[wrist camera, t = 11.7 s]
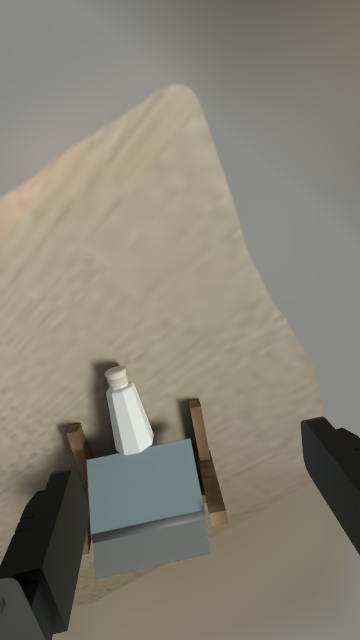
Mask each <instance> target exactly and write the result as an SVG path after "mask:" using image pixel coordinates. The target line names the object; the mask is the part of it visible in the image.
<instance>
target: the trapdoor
mask: <svg viewBox="0 0 360 640" xmlns="http://www.w3.org/2000/svg"><path fill="white" fill-rule="evenodd" d="M87 475H88V493H89V510H90V528H91V539H92V541H93V550H94V567H95V579H99V578H103V577H108V576H112V575H117V574H121V573H126V572H130V571H135V570H139V569H144V568H148V567H153V566H158V565H162V564H167V563H171V562H176V561H180V560H185V559H189V558H194V557H198V556H203V555H207V554H211V550H210V544H209V539H208V534H207V528H206V523H205V518H204V515H205V511H204V506H203V501H202V496H201V490H200V485H199V480H198V475H197V470H196V465H195V460H194V455H193V449H192V444H191V439H185V440H180V441H175V442H171V443H166V444H161V445H156V446H151V447H147V448H146V449H145V450H143V451H142V452H140V453H136V454H130V455H124V454H122V453H118V454H113V455H108V456H103V457H98V458H94V459H89V460H87Z"/></svg>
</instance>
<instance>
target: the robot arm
mask: <svg viewBox="0 0 360 640" xmlns="http://www.w3.org/2000/svg"><path fill="white" fill-rule="evenodd" d="M301 434H302V446H303V458H304V462H305V466H306V468H307V471H308V473H309V475H310V477H311V478H312V480H313V482H314V483H315V485H316V486H317V488H318V489H319V491H320V493H321V494H322V496H323V497H324V499H325V501H326V502H327V504H328V505H329V507H330V509H331V510H332V512H333V513H334V515H335V516H336V518H337V520H338V521H339V523H340V525H341V526H342V528H343V529H344V531H345V532H346V534H347V535H348V537H349V539H350V540H351V542H352V544H353V545H354V546H355V548H356V550H357V551H358V553H359V555H360V438H359V437H358V436H357V435H355V434H353V433H351V432H349V431H348V430H346V429H344V428H340V429H335V428H334V427H333V426H332V425H331V424H330V423H329V422H328V420H327V419H326V418H325V417H317V418H313V419H308V420H303V421H302V422H301ZM88 522H89V507H88V502H87V499H86V496H85V492H84V489H83V486H82V483H81V480H80V477H79V474H78V471H77V469H76V468H70V469H65V470H60V471H55V472H52V474H51V475H50V478H49V481H48V483H47V486H46V488H45V490H42V491H37V493H36V494H35V495H34V496H33V497H32V499H31V500H30V501H29V502H28V503H27V505H26V507H25V509H24V511H23V514H22V516H21V518H20V522H19V523H18V525H17V528H16V530H15V534H14V535H13V537H12V539H11V542H10V544H9V547H8V549H7V551H6V554H5V556H4V558H3V561H2V563H1V565H0V640H52V636H53V634H56V633H61V632H65V631H67V630H68V625H69V620H70V614H71V609H72V604H73V599H74V594H75V589H76V584H77V579H78V574H79V569H80V563H81V558H82V553H83V548H84V543H85V538H86V533H87V528H88Z"/></svg>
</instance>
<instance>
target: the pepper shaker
mask: <svg viewBox="0 0 360 640" xmlns="http://www.w3.org/2000/svg"><path fill="white" fill-rule="evenodd" d="M105 376H106V378H107V382H108V384H109V388H108V390H107V392H106V394H107V401H108V407H109V413H110V418H111V424H112V430H113V435H114V441H115V447H116V450H117V451H118V452H120V453H122V454H124V455H130V454H136V453H140V452H142V451H143V450H145V449H146V448H147V447H149V446H150V445H152V442H153V437H154V434H153V431H152V429H151V426H150V424H149V421H148V419H147V416H146V414H145V411H144V409H143V406H142V403H141V401H140V398H139V396H138V393H137V391H136V388H135V386H134V384H133V383H132V382H128V379H127V378H128V377H127V374H126V367H124V366H116V367H112V368H110V369H108V370H107V371H106V372H105Z"/></svg>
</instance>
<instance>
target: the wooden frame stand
mask: <svg viewBox="0 0 360 640" xmlns="http://www.w3.org/2000/svg"><path fill="white" fill-rule="evenodd" d="M189 407H190V412H191V417H192V422H193V427H194V433H195V438H196V443H197V448H198V453H197V457H198V462H199V467H200V472H201V477H202V482H203V485H202V486H200V490H201V496H202V501H203V504H204V503H207V506H208V511H209V516H210V521H211V525H212V526H217V525H221V524H226V523H228V521H227V515H226V510H225V506H224V502H223V498H222V495H221V491H220V487H219V483H218V480H217V476H216V472H215V468H214V464H213V461H212V457H211V453H210V451H209V449H208V443H207V438H206V432H205V427H204V421H203V415H202V410H201V405H200V401H199V399H195V400H190V401H189ZM67 436H68V439H69V443H70V446H71V449H72V452H73V455H74V458H75V461H76V464H77V467H78V470H79V474H80V477H81V480H82V483H83V485H82V486H83V489H84V492H85V496H86V499H87V502H88V507H89V493H88V475H87V460H89V459H91V456H90V453H89V449H88V446H87V443H86V440H85V436H84V433H83V430H82V426H81V423H77V424H72V425H70V426H69V429H68V431H67ZM90 545H91V528H90V510H89V522H88V528H87V533H86V538H85V543H84V548H83V553H82V555H84V554H88V553H89V550H90Z"/></svg>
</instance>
